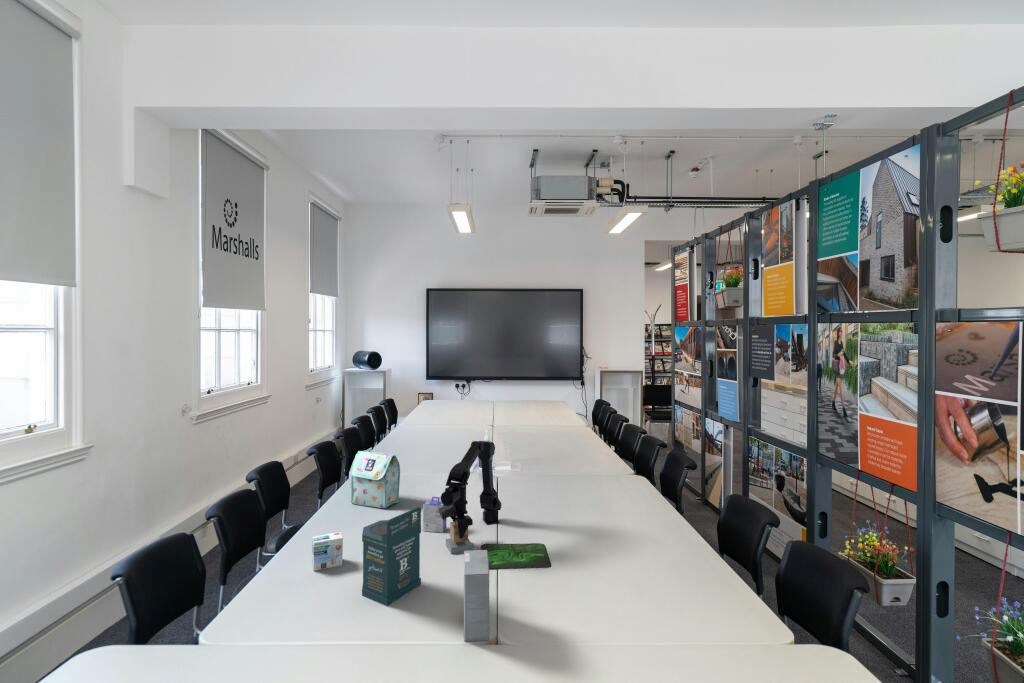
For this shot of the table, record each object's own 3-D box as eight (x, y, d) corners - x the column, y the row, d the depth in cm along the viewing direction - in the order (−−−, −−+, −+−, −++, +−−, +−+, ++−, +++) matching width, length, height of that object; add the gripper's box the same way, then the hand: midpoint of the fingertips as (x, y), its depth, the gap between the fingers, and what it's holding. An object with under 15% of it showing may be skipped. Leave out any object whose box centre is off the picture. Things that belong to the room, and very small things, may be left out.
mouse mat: (544, 543, 208) (544, 541, 208) (553, 568, 186) (553, 566, 186) (480, 545, 206) (480, 543, 206) (481, 571, 184) (481, 568, 184)
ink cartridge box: (447, 528, 223) (447, 496, 223) (443, 533, 218) (443, 500, 217) (426, 526, 225) (426, 495, 224) (422, 531, 219) (422, 499, 219)
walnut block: (463, 534, 207) (463, 520, 206) (468, 540, 201) (468, 525, 201) (450, 536, 204) (450, 522, 204) (453, 542, 199) (453, 527, 199)
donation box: (386, 606, 159) (387, 520, 159) (353, 592, 168) (353, 510, 167) (420, 584, 173) (421, 506, 172) (388, 572, 181) (388, 497, 181)
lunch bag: (346, 505, 252) (346, 453, 251) (367, 495, 267) (367, 446, 266) (383, 511, 243) (383, 457, 242) (402, 501, 258) (403, 450, 258)
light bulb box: (313, 571, 182) (313, 542, 181) (311, 564, 188) (311, 536, 187) (343, 565, 187) (343, 537, 186) (340, 558, 193) (340, 531, 192)
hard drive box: (464, 611, 156) (464, 549, 156) (487, 610, 157) (488, 549, 157) (463, 642, 141) (463, 573, 140) (489, 641, 141) (490, 572, 141)
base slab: (466, 542, 208) (466, 535, 208) (472, 551, 200) (472, 544, 200) (445, 546, 205) (445, 539, 205) (451, 555, 197) (451, 547, 197)
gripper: (434, 493, 208) (434, 529, 208) (445, 508, 191) (445, 547, 191) (460, 490, 212) (459, 526, 212) (473, 504, 195) (473, 543, 195)
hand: (459, 535), depth 203 cm, fingers closed on walnut block, 6 cm apart
